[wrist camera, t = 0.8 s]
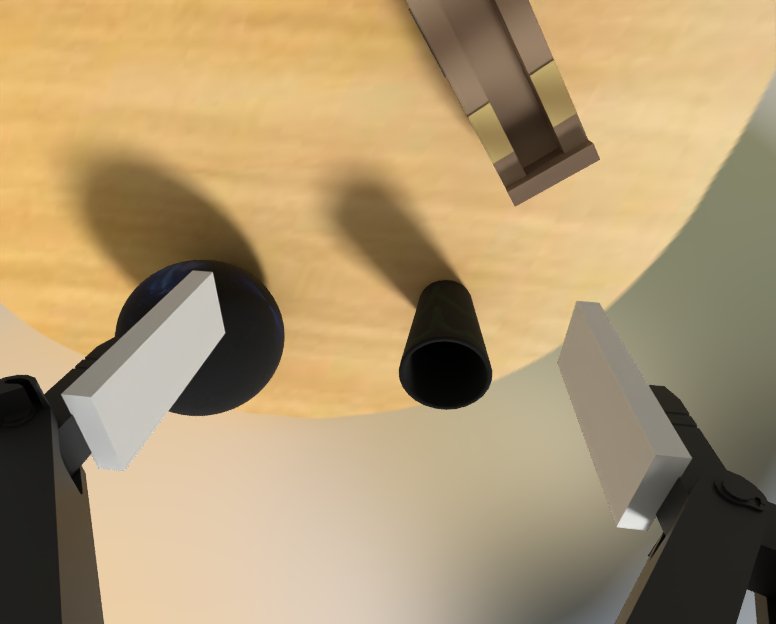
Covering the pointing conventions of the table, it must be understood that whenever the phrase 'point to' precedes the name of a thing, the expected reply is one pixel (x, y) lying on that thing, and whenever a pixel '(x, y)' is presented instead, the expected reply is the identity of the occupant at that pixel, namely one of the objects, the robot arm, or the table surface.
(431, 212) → the table surface
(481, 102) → the beam
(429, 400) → the cup
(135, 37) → the table surface
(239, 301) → the decorative sphere
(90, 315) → the table surface
